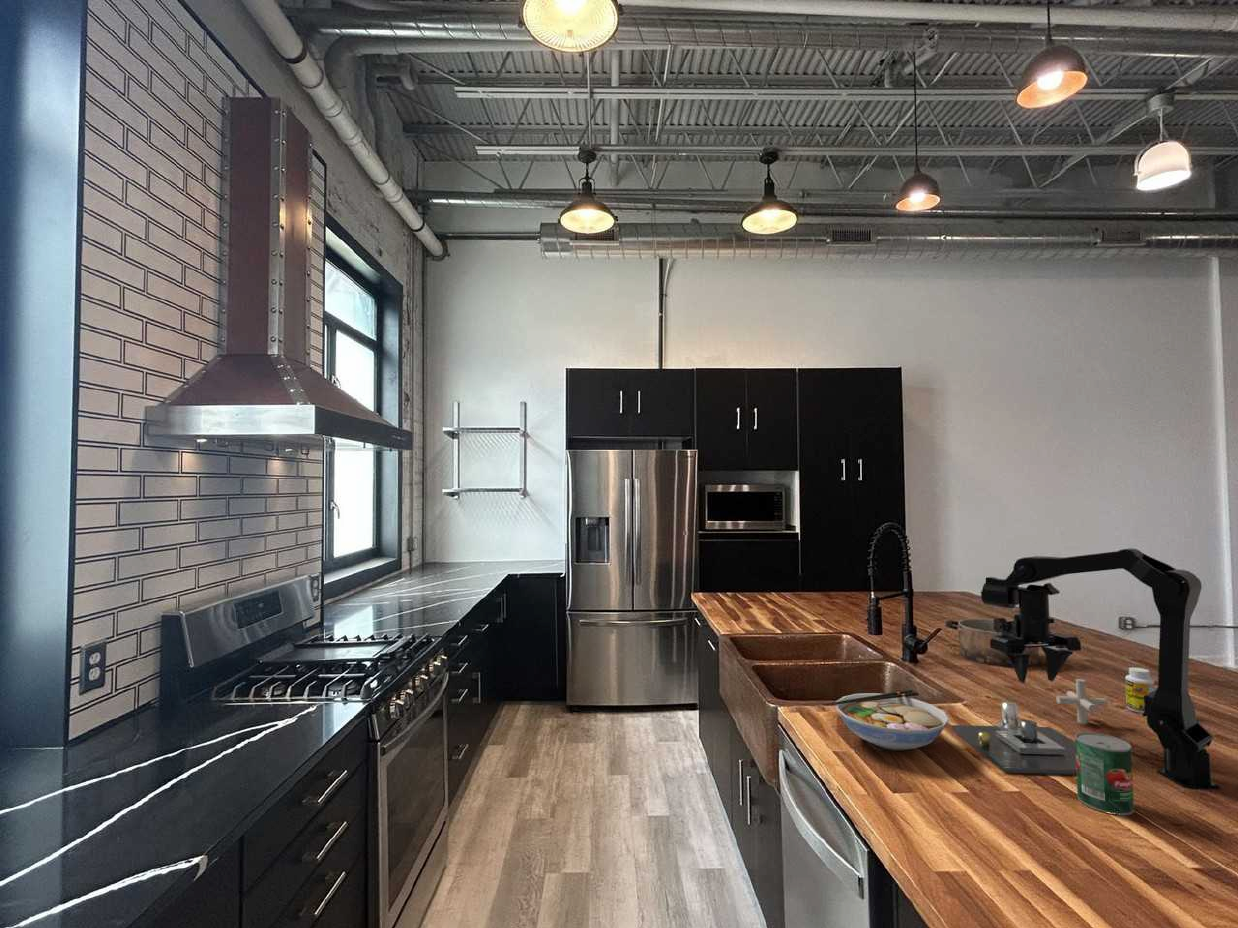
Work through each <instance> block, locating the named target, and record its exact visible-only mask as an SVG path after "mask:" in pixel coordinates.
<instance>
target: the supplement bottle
mask: <svg viewBox="0 0 1238 928" xmlns="http://www.w3.org/2000/svg"><path fill="white" fill-rule="evenodd" d="M1150 675H1151V674H1150V670H1149V669H1146V668H1141V667H1129V668H1128V674H1127V675H1125V703H1126V708H1127V709H1128V710H1130V711H1132V712H1134V713H1139V714H1143V713H1144V711H1145V703H1144V695H1146V694H1149V693H1151V692H1153V691H1155V680H1154V678H1151V676H1150Z"/></svg>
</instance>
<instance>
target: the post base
mask: <svg viewBox="0 0 1238 928" xmlns="http://www.w3.org/2000/svg"><path fill="white" fill-rule="evenodd" d="M1019 723H1020V724H1019V725H1020V726H1019V725H1018V728H1020V732H1021V741H1022V742H1023V743H1031V744H1038V736H1037V731H1038V732H1040V733H1041V734H1043V735H1044V736H1046V737H1048V738H1049V739H1051V740H1052V741H1054V742H1055V743H1057V744H1059V745H1060V746H1062V747H1063V748H1065V755H1057V754H1020V753H1018V752H1017V751H1016V750H1014V749H1013V748H1011V747H1010V746H1009V745H1007V744H1006V743H1005V742H1003V741H1002V740H1000V739H999V738H998V737H996V731H1001V730H1000V729H999V728H997V725H967V724H966V725H965V724H963V725H960V724H959V725H958V724H957V725H956V724H951V731H953V732H954V733H955V734H956V735H958V737H960V738H961V739H962V740H963V741H965V742H966V743H967V744H968V745H970V746H971V747H972V748H973V749H975V750H976V751H977V752H978V753H980V754H981V755H982V756H983V757H984V758H985V759H987V760H988V761H990V762H991V763H992V764H993V765H995V767H997V768H998V769H999V770H1000V771H1002V772H1003V773H1004V774H1009V775H1010V774H1011V775H1012V774H1015V775H1016V774H1018V775H1051V776H1052V775H1056V776H1057V775H1059V776H1061V775H1063V776H1077V770H1076V747H1075V744H1076V743H1075V740H1073V739H1071V738H1069V737H1068V736H1065V735H1064V734H1062V733H1061V732H1058V730H1056V729H1054V728H1052V727H1051V726H1038V723H1037V721H1034V720H1030V719H1020V720H1019Z"/></svg>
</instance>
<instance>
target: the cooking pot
mask: <svg viewBox="0 0 1238 928" xmlns="http://www.w3.org/2000/svg"><path fill="white" fill-rule="evenodd" d="M994 619H995V618H992V619H991V618H967V619H961V620H959V621H955V620H948V621H947V620H946V622H945V627H947V628H948V629H949V628H950V629H953V630H954V631H955V630H956V631H957V630H958V650H959V655H960V656H961V657H962V656H963V657H962V658H964V659H966V660H969V661H972V662H974V663H979V664H984V665H987V666H994V667H1003V668H1014V667H1013V665H1012V663H1011V661H1010V659H1009V657H1008V656H1007V655H1006V654H1005V653H1003V652H1000V651H999V650H996V649H993V648H990V639H991V638H992V637H993V636H1001V635H1002V634H1001V633H997V632H995V630H994ZM1050 633H1053V632H1052V631H1050ZM1010 637H1013V636H1010ZM1014 638H1017V639H1020V638H1019V637H1014ZM1039 651H1040V649H1039V647H1029V648H1025V650H1024V653H1026V654H1029V662H1028V668H1031V666H1032V667H1034V666H1037V665H1038V664H1039V662H1040V661H1039V660H1040V654H1039Z"/></svg>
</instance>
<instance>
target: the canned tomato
mask: <svg viewBox="0 0 1238 928" xmlns="http://www.w3.org/2000/svg"><path fill="white" fill-rule="evenodd" d="M1074 738H1075V740H1074V742H1075V743H1076V744H1075V747H1076V770H1077V775H1076V791H1077V792H1076V793H1077V795H1076V797H1078V798H1077V799H1079V800H1080V801H1081V802H1083V803H1084V804H1085V805H1084V804H1083V803H1082V804H1083V805H1084V806H1086V805H1087V806H1086V807H1088V806H1089V807H1088V808H1090V807H1091V808H1090V809H1092V808H1093V810H1095V809H1097V810H1100V811H1104V812H1110V813H1113V814H1114V813H1115V814H1120V815H1119V816H1130V815H1132V814H1134V812H1135V807H1134V785H1133V765H1132V764H1133V760H1132V759H1133V757H1132V745H1131V744H1130V743H1129V742H1127V741H1125V740H1123V739H1121V738H1119V737H1115V736H1113V735H1110V734H1109V735H1108V734H1104V733H1097V732H1091V731H1090V732H1088V731H1086V732H1077V733H1076V734H1074ZM1079 800H1078V801H1079ZM1080 801H1079V802H1080ZM1081 802H1080V803H1081ZM1097 810H1096V811H1097ZM1100 811H1099V812H1100ZM1104 812H1103V813H1104ZM1113 814H1112V815H1113Z"/></svg>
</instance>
